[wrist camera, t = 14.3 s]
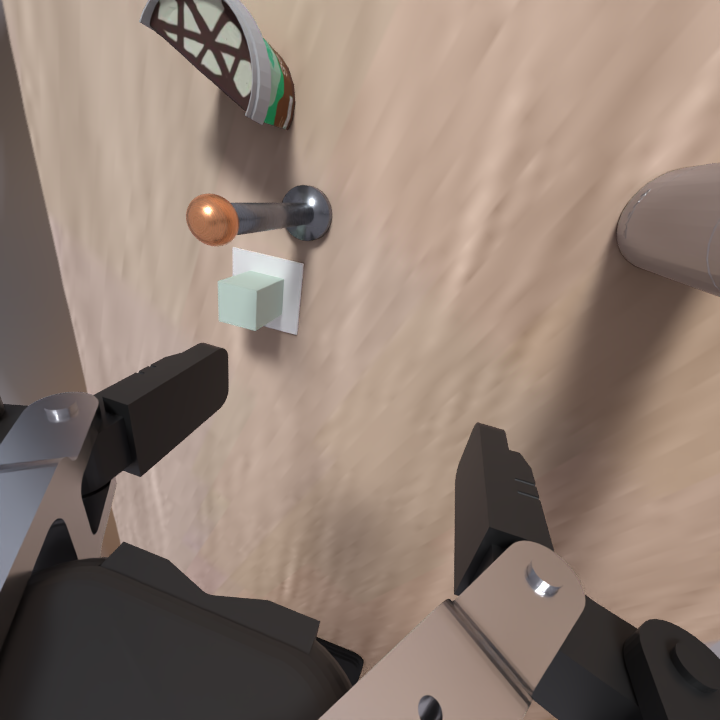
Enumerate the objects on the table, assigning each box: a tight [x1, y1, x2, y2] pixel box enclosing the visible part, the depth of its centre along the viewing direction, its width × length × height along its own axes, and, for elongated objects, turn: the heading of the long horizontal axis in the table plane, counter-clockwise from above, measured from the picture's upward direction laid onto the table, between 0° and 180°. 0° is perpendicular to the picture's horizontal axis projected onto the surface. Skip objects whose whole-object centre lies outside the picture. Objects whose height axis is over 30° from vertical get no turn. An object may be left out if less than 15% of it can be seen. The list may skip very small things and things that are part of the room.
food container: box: [139, 0, 295, 130], centre depth 32 cm, size 12×6×10 cm, turn 52°
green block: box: [218, 271, 284, 331], centre depth 43 cm, size 5×5×7 cm
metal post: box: [186, 185, 332, 246], centre depth 32 cm, size 6×6×20 cm
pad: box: [233, 247, 304, 335], centre depth 47 cm, size 10×10×1 cm
